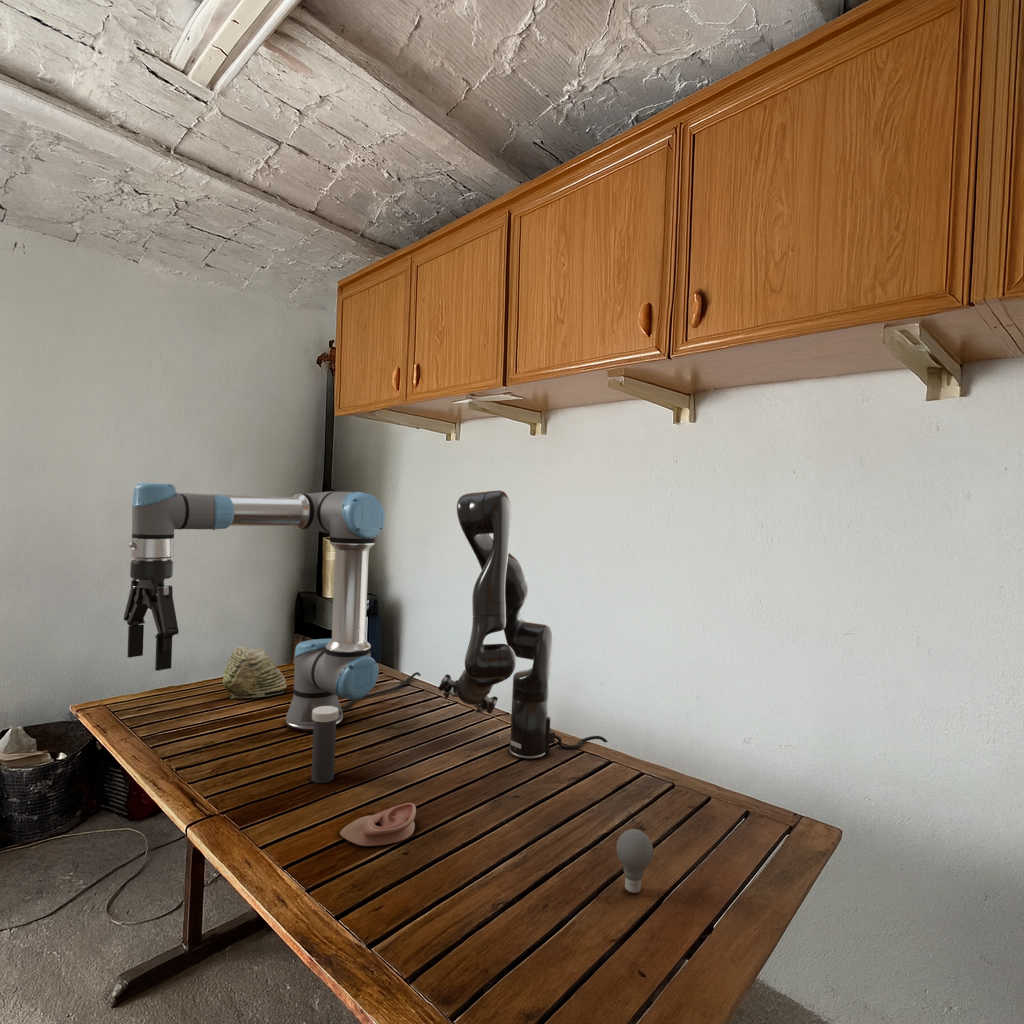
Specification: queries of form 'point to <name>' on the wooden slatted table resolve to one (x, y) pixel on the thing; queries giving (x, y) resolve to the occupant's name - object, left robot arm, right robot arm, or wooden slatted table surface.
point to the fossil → (252, 674)
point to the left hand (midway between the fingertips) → (148, 662)
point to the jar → (323, 751)
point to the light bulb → (634, 857)
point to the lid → (325, 714)
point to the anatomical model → (382, 826)
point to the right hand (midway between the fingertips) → (462, 701)
